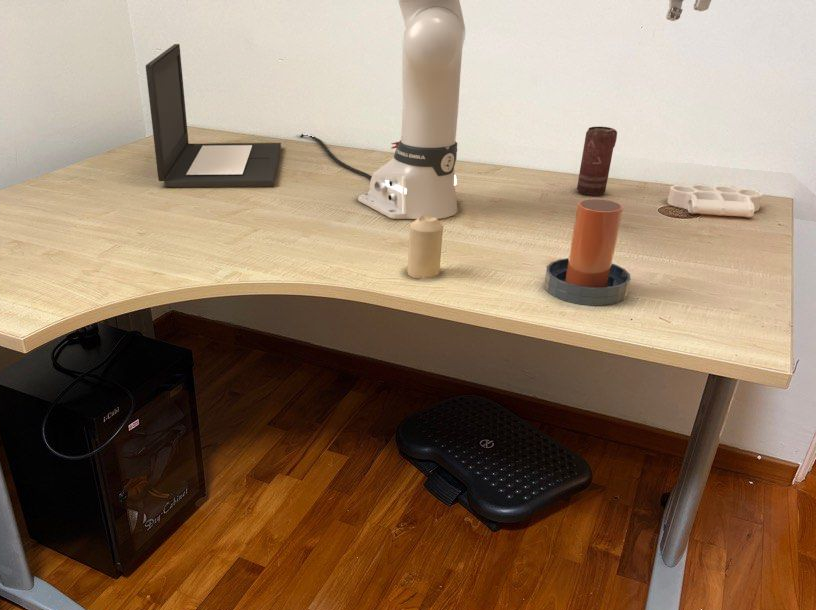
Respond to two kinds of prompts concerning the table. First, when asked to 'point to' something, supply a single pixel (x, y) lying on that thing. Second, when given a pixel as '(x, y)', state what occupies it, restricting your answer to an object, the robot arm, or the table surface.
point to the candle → (425, 247)
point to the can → (596, 160)
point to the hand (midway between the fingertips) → (685, 15)
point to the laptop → (198, 161)
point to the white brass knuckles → (715, 199)
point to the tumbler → (593, 242)
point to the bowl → (586, 295)
